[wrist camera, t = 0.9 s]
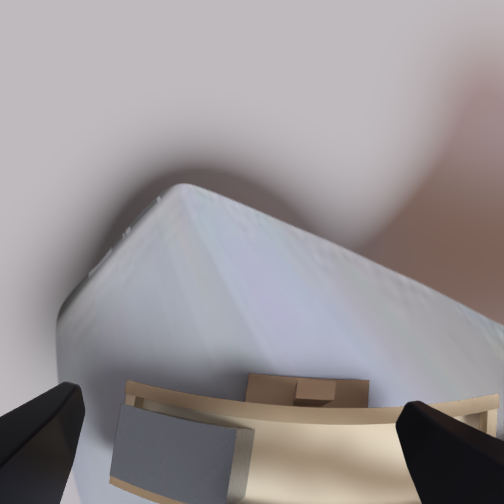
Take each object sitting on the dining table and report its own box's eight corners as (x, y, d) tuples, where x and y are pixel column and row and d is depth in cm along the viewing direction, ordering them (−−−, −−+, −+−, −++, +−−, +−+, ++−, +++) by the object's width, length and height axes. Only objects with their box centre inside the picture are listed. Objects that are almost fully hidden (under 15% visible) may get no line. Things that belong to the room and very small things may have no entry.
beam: (470, 503, 11) (487, 509, 9) (129, 480, 17) (109, 483, 15) (480, 399, 15) (499, 393, 13) (146, 386, 21) (127, 379, 19)
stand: (347, 529, 16) (367, 558, 10) (228, 522, 18) (209, 550, 12) (366, 381, 23) (392, 365, 17) (250, 375, 25) (239, 357, 19)
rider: (245, 496, 14) (224, 512, 11) (147, 471, 16) (109, 475, 13) (255, 429, 17) (237, 429, 13) (157, 411, 19) (121, 403, 15)
